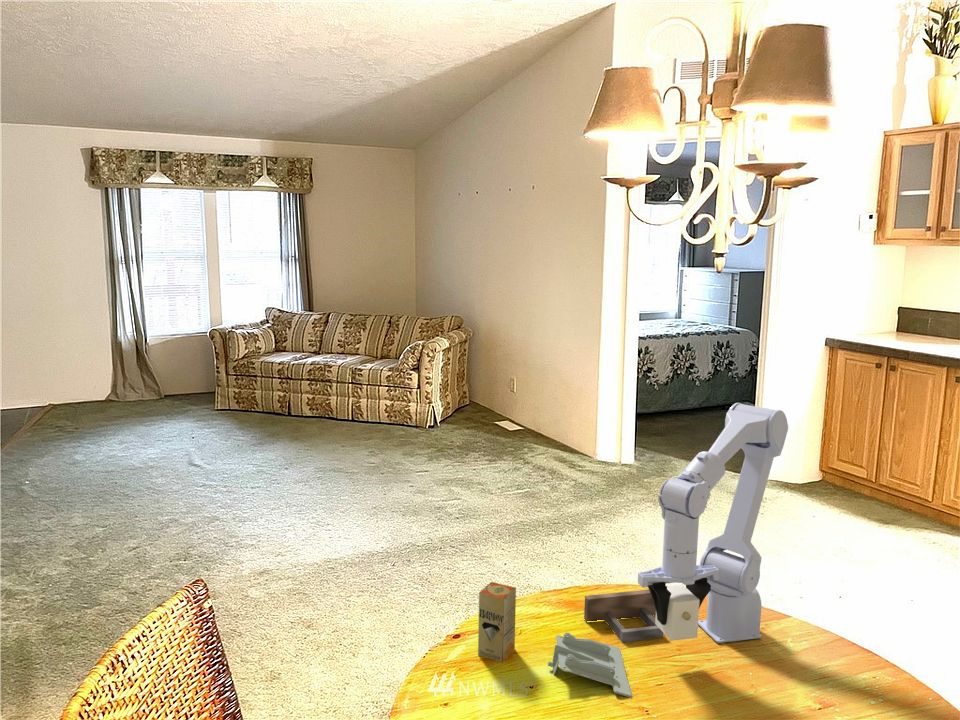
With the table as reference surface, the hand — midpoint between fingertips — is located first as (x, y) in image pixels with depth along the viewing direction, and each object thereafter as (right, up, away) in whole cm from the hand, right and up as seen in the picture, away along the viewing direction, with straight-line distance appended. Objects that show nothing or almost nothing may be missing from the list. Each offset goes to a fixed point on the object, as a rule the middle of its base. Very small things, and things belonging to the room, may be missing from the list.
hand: (676, 620), depth 136 cm
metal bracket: (-15, -9, -2) cm, 18 cm away
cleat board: (-5, -6, +13) cm, 15 cm away
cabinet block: (0, -2, 0) cm, 2 cm away
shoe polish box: (-32, -7, +4) cm, 33 cm away
